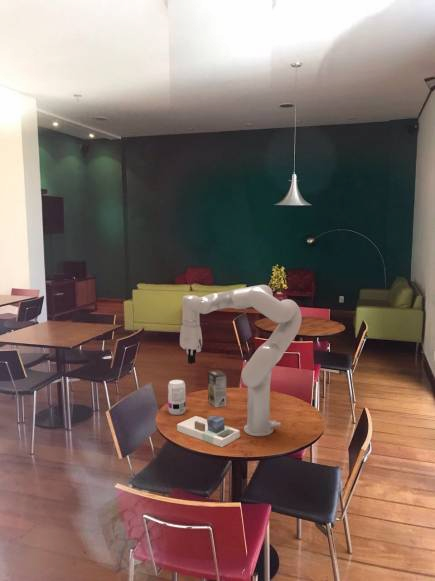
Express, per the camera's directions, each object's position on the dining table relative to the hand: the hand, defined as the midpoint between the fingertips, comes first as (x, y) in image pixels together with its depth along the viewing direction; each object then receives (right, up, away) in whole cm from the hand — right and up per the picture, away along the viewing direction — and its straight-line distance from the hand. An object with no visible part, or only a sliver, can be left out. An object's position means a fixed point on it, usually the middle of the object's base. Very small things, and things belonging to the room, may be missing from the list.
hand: (191, 363), depth 211 cm
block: (+11, -26, -14) cm, 32 cm away
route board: (+8, -29, -11) cm, 32 cm away
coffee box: (+11, -24, +24) cm, 36 cm away
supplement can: (-8, -26, +14) cm, 30 cm away
